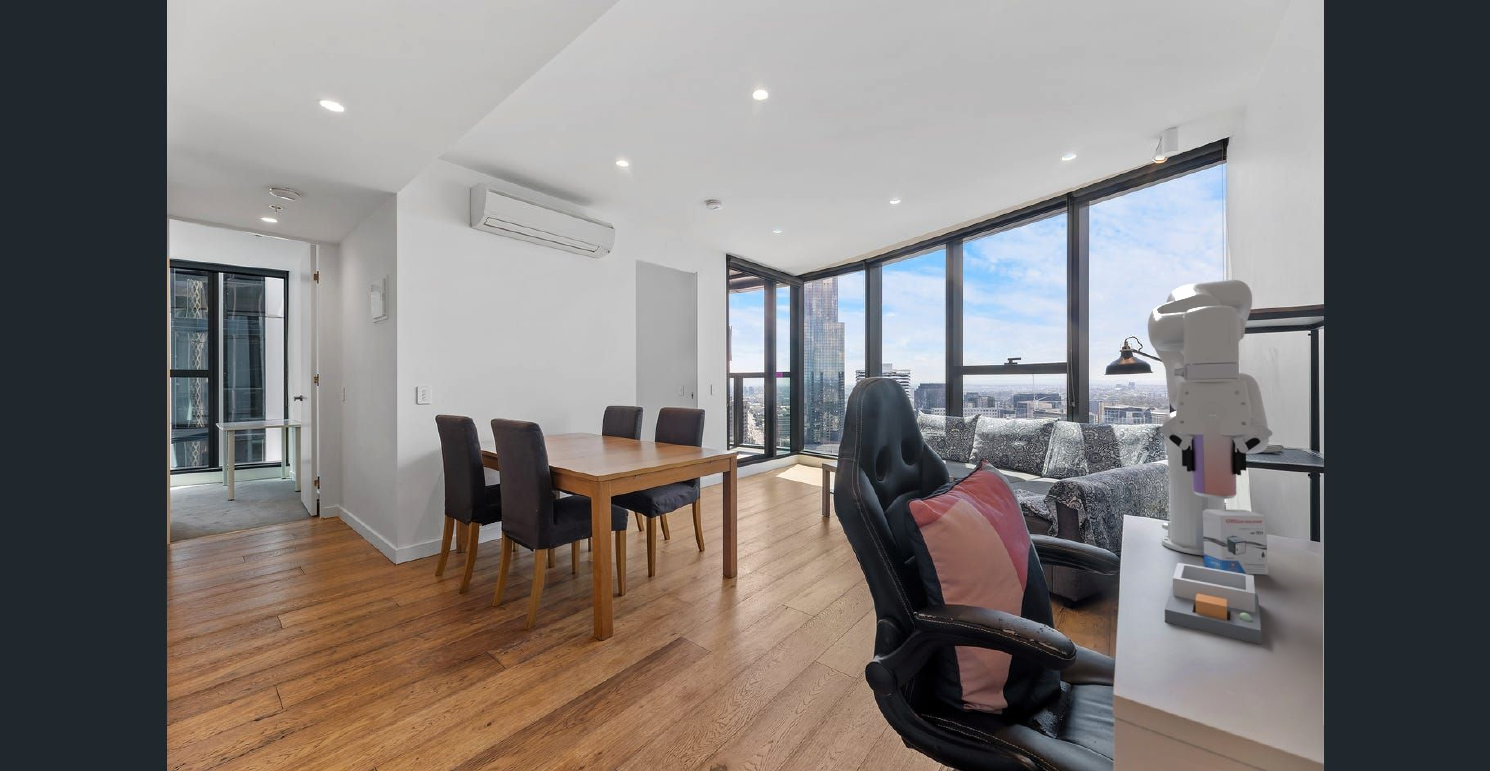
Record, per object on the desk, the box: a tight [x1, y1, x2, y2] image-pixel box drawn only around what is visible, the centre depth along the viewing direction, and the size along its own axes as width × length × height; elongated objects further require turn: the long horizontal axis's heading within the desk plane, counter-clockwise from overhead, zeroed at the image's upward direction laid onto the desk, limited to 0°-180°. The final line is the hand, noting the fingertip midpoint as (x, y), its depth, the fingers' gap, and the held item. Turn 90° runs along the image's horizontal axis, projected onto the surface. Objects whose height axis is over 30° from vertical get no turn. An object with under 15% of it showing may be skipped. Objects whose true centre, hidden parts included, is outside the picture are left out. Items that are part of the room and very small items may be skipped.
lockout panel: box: [1164, 562, 1262, 645], centre depth 86 cm, size 18×11×5 cm, turn 136°
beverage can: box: [1191, 414, 1237, 500], centre depth 95 cm, size 6×6×15 cm
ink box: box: [1203, 508, 1269, 575], centre depth 104 cm, size 9×5×12 cm, turn 84°
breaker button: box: [1195, 593, 1227, 620], centre depth 82 cm, size 4×4×3 cm
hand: (1213, 471), depth 95 cm, fingers closed on beverage can, 6 cm apart
